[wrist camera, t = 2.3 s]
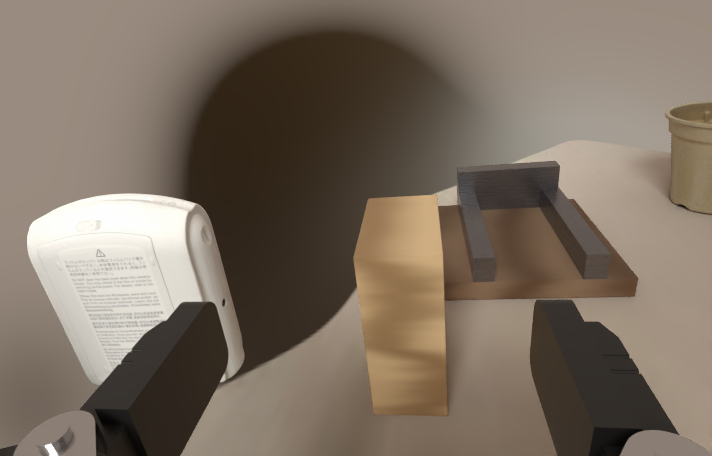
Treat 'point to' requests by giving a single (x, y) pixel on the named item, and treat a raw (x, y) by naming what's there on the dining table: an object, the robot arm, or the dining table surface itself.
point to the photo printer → (128, 273)
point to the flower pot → (691, 155)
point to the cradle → (524, 239)
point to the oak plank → (403, 305)
